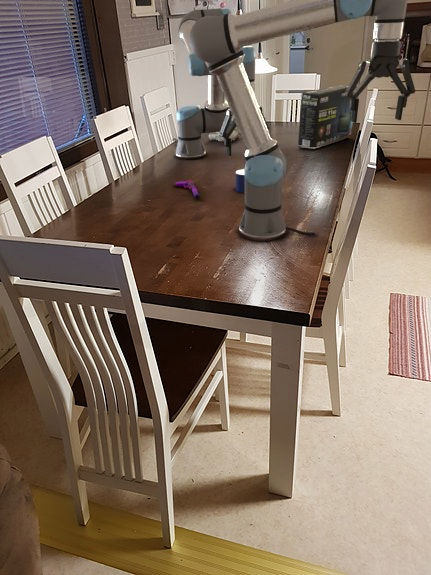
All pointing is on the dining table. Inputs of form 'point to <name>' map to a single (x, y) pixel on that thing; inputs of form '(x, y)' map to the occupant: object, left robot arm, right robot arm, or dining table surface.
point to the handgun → (189, 185)
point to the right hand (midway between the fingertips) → (375, 120)
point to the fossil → (216, 137)
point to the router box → (324, 116)
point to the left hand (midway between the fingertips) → (244, 152)
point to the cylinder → (240, 181)
